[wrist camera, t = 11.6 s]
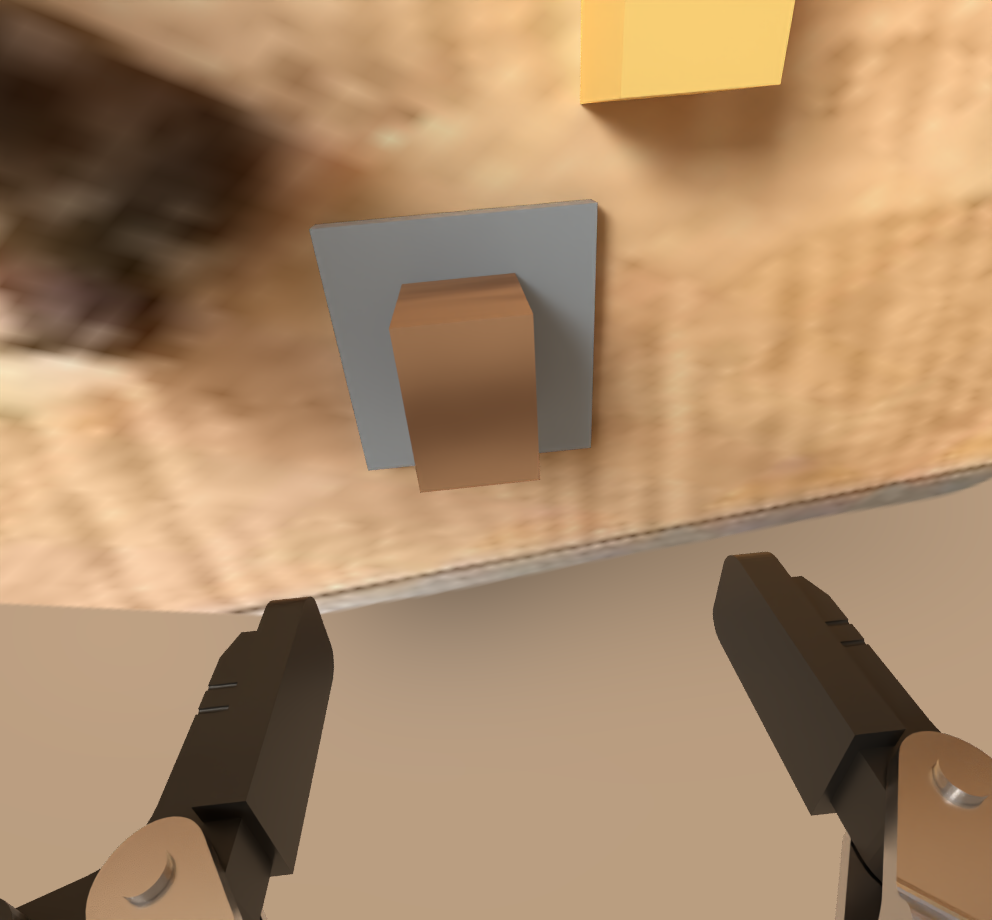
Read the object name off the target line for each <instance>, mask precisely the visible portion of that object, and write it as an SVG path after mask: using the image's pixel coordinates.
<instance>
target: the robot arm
mask: <svg viewBox="0 0 992 920" xmlns="http://www.w3.org/2000/svg"><path fill="white" fill-rule="evenodd" d="M713 620H714V626H715V630H716V633H717V636H718V639H719V640H720V643H721V645H722V647H723V649H724V650H725V652H726V654H727V656H728V658H729V660H730V662H731V664H732V666H733V668H734V669H735V671H736V673H737V675H738V677H739V679H740V681H741V683H742V685H743V687H744V689H745V691H746V692H747V694H748V696H749V698H750V700H751V702H752V704H753V706H754V707H755V710H756V711H757V713H758V715H759V717H760V719H761V721H762V722H763V725H764V727H765V729H766V731H767V732H768V734H769V736H770V738H771V740H772V742H773V744H774V746H775V748H776V749H777V751H778V753H779V755H780V757H781V759H782V761H783V763H784V765H785V766H786V768H787V770H788V772H789V774H790V776H791V778H792V780H793V782H794V784H795V786H796V788H797V790H798V791H799V793H800V795H801V797H802V799H803V801H804V803H805V805H806V806H807V809H808V810H809V812H810V814H811V815H819V814H829V813H837V815H838V816H839V818H840V820H841V822H842V824H843V825H844V827H845V829H846V832H845V834H844V836H843V841H842V852H841V863H840V873H839V884H838V895H837V906H836V917H835V920H992V758H991V757H990V756H988V755H987V754H986V753H984V752H983V751H981V750H980V749H978V748H977V747H975V746H973V745H971V744H970V743H968V742H966V741H964V740H961V739H959V738H957V737H954V736H951V735H948V734H945V733H941V732H940V731H939V730H938V729H937V728H936V727H935V726H934V725H933V723H932V722H931V721H930V720H929V719H928V718H927V716H926V715H925V714H924V713H923V711H922V710H921V709H920V708H919V706H918V705H917V704H916V703H915V702H914V700H913V699H912V698H911V697H910V695H909V694H908V693H907V692H906V690H905V689H904V688H903V687H902V685H901V684H900V683H899V682H898V680H897V679H896V678H895V677H894V676H893V674H892V673H891V672H890V671H889V669H888V668H887V667H886V666H885V664H884V663H883V662H882V661H881V659H880V658H879V657H878V656H877V655H876V653H875V652H874V651H873V649H872V648H871V647H870V646H869V645H868V644H867V645H866V644H865V642H864V638H863V637H862V636H861V635H860V633H859V632H858V631H857V630H856V629H855V627H854V626H853V625H852V624H849V623H848V618H847V617H846V616H845V615H844V614H843V612H842V611H841V610H840V609H839V607H838V606H837V605H836V604H835V602H834V601H833V600H832V599H831V597H830V596H829V595H828V594H826V593H825V592H823V591H822V590H820V589H819V588H818V587H816V586H815V585H813V584H812V583H811V582H809V581H808V580H807V579H805V578H804V577H802V576H799V577H791V576H790V575H789V574H788V573H787V571H786V570H785V569H784V567H783V566H782V565H781V563H780V562H779V561H778V559H777V558H776V557H775V556H774V555H773V554H772V553H769V552H760V553H750V554H740V555H730V556H728V557H727V558H726V559H725V561H724V565H723V569H722V573H721V578H720V582H719V586H718V590H717V595H716V599H715V603H714V608H713ZM333 672H334V659H333V651H332V647H331V644H330V641H329V638H328V636H327V632H326V629H325V627H324V624H323V621H322V619H321V615H320V612H319V610H318V607H317V604H316V602H315V600H314V598H313V597H302V598H292V599H282V600H273V601H270V602H269V603H268V604H267V606H266V608H265V611H264V613H263V616H262V619H261V621H260V624H259V627H258V629H257V631H251V632H242V633H241V634H240V635H239V636H238V637H237V638H236V640H235V641H234V642H233V643H232V644H231V646H230V647H229V648H228V649H227V650H226V651H225V652H224V653H223V655H222V656H221V657H220V659H219V661H218V664H217V666H216V668H215V671H214V673H213V675H212V678H211V680H210V682H209V685H208V686H209V689H208V691H206V692H205V694H204V697H203V699H202V702H201V704H200V706H199V708H198V709H199V713H198V715H195V718H194V720H193V723H192V725H191V727H190V730H189V732H188V734H187V737H186V739H185V741H184V744H183V746H182V749H181V751H180V753H179V756H178V758H177V760H176V763H175V765H174V767H173V770H172V772H171V774H170V777H169V779H168V782H167V784H166V786H165V789H164V791H163V794H162V796H161V798H160V801H159V803H158V805H157V807H156V809H155V811H154V813H153V815H152V817H151V818H150V820H149V822H148V823H147V825H146V826H144V827H142V828H141V829H139V830H138V831H136V832H135V833H133V834H132V835H131V836H130V837H128V838H127V839H126V840H125V841H124V842H123V843H122V844H120V846H118V847H117V849H116V850H115V851H114V852H113V853H112V854H111V855H110V856H109V858H108V859H107V861H106V862H105V863H104V865H103V866H102V867H101V869H99V870H98V871H96V872H94V873H92V874H90V875H88V876H86V877H84V878H82V879H80V880H77V881H75V882H73V883H71V884H68V885H66V886H64V887H62V888H60V889H57V890H55V891H53V892H51V893H49V894H46V895H44V896H42V897H40V898H37V899H35V900H33V901H31V902H29V903H26V904H24V905H22V906H20V907H18V908H14V907H13V906H11V905H10V904H8V903H7V902H5V901H4V900H2V899H0V920H267V918H266V915H265V913H264V911H263V909H262V908H263V903H264V898H265V895H266V890H267V886H268V882H269V878H270V877H271V876H280V875H288V874H293V871H294V866H295V861H296V856H297V851H298V846H299V841H300V836H301V831H302V826H303V822H304V817H305V812H306V807H307V802H308V798H309V793H310V788H311V783H312V778H313V773H314V768H315V763H316V759H317V754H318V749H319V744H320V739H321V734H322V729H323V724H324V720H325V715H326V710H327V705H328V700H329V695H330V690H331V685H332V680H333Z"/></svg>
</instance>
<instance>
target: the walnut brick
mask: <svg viewBox="0 0 992 920" xmlns="http://www.w3.org/2000/svg"><path fill="white" fill-rule="evenodd" d="M389 332H390V337H391V342H392V347H393V353H394V358H395V363H396V368H397V373H398V379H399V384H400V389H401V394H402V399H403V405H404V410H405V415H406V420H407V425H408V431H409V436H410V441H411V446H412V451H413V457H414V462H415V467H416V472H417V477H418V483H419V488H420V493H421V492H430V491H439V490H449V489H458V488H467V487H477V486H486V485H495V484H504V483H514V482H523V481H532V480H540V469H539V444H538V419H537V395H536V370H535V346H534V321H533V312H532V310H531V308H530V306H529V303H528V301H527V299H526V297H525V294H524V292H523V290H522V288H521V285H520V283H519V281H518V279H517V276H516V274H515V273H509V274H499V275H488V276H478V277H468V278H458V279H448V280H438V281H428V282H418V283H408V284H402V285H401V289H400V292H399V296H398V299H397V303H396V306H395V309H394V313H393V316H392V320H391V323H390V327H389Z"/></svg>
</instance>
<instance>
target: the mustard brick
mask: <svg viewBox="0 0 992 920" xmlns="http://www.w3.org/2000/svg"><path fill="white" fill-rule="evenodd" d="M794 4H795V0H581V91H580V104H586V103H597V102H609V101H620V100H632V99H643V98H655V97H666V96H678V95H689V94H700V93H710V92H718V91H727V90H736V89H744V88H753V87H761V86H770V85H779V84H780V83H781V78H782V72H783V67H784V61H785V55H786V50H787V44H788V38H789V33H790V27H791V21H792V16H793V10H794Z"/></svg>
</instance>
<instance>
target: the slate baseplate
mask: <svg viewBox="0 0 992 920" xmlns="http://www.w3.org/2000/svg"><path fill="white" fill-rule="evenodd" d="M309 231H310V235H311V239H312V243H313V247H314V251H315V255H316V259H317V264H318V268H319V272H320V276H321V280H322V284H323V288H324V292H325V296H326V300H327V304H328V308H329V312H330V316H331V321H332V325H333V329H334V333H335V337H336V341H337V345H338V349H339V353H340V357H341V361H342V365H343V369H344V373H345V378H346V382H347V386H348V390H349V394H350V398H351V402H352V406H353V410H354V414H355V418H356V422H357V426H358V430H359V435H360V439H361V443H362V447H363V451H364V455H365V459H366V463H367V467H368V471H369V470H378V469H388V468H398V467H408V466H415V462H414V457H413V451H412V446H411V441H410V436H409V431H408V425H407V420H406V415H405V410H404V405H403V399H402V394H401V389H400V384H399V379H398V373H397V368H396V363H395V358H394V353H393V347H392V342H391V337H390V332H389V327H390V323H391V320H392V316H393V313H394V309H395V306H396V303H397V299H398V296H399V292H400V289H401V285H402V284H408V283H418V282H428V281H438V280H448V279H458V278H468V277H478V276H488V275H499V274H509V273H515V274H516V276H517V279H518V281H519V283H520V285H521V288H522V290H523V292H524V294H525V297H526V299H527V301H528V303H529V306H530V308H531V310H532V312H533V321H534V346H535V370H536V395H537V419H538V444H539V453H544V452H553V451H563V450H573V449H582V448H591V426H592V389H593V352H594V314H595V277H596V240H597V202H595V201H593V200H592V199H588V200H577V201H566V202H555V203H544V204H534V205H523V206H512V207H501V208H490V209H479V210H468V211H457V212H446V213H435V214H425V215H414V216H403V217H392V218H381V219H370V220H359V221H348V222H337V223H326V224H316V225H314V226H313V227H311V228H310V229H309Z"/></svg>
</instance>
